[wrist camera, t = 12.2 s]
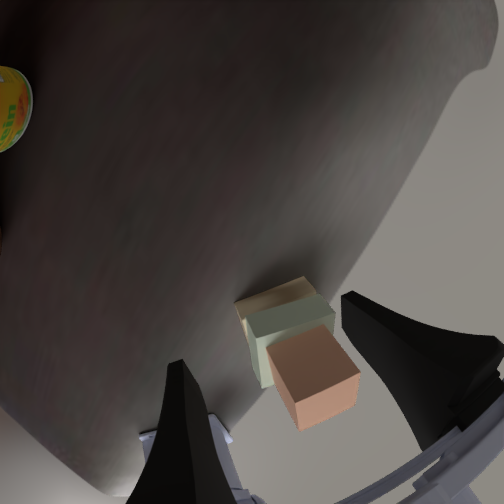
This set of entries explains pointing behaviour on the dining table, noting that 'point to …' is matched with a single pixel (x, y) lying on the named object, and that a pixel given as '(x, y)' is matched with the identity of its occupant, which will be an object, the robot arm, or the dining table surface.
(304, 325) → the tower top block
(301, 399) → the terracotta block
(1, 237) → the wooden figurine
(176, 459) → the robot arm
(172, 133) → the dining table surface
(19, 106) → the supplement bottle
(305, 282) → the tower base block
